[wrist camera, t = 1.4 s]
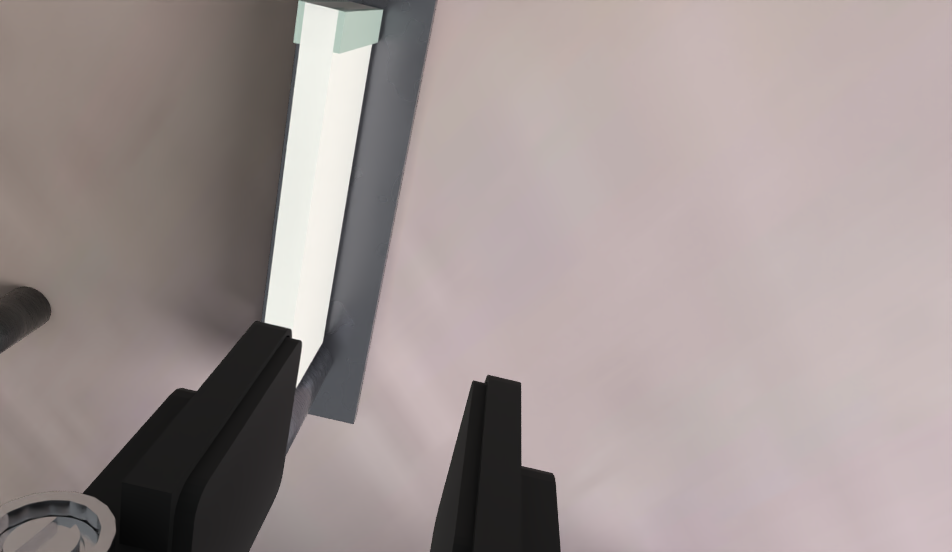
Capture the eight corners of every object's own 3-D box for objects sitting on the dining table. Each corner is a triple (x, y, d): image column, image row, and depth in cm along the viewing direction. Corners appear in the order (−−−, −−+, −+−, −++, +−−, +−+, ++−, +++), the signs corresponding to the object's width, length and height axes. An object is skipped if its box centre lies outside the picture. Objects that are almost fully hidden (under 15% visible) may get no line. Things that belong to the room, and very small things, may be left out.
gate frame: (355, 418, 34) (305, 545, 26) (10, 338, 33) (-149, 443, 25) (451, -73, 26) (420, -105, 18) (-7, -189, 25) (-248, -275, 17)
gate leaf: (327, 343, 31) (285, 417, 26) (296, 336, 31) (247, 409, 26) (383, 9, 26) (345, 11, 20) (346, 0, 26) (298, 0, 20)
